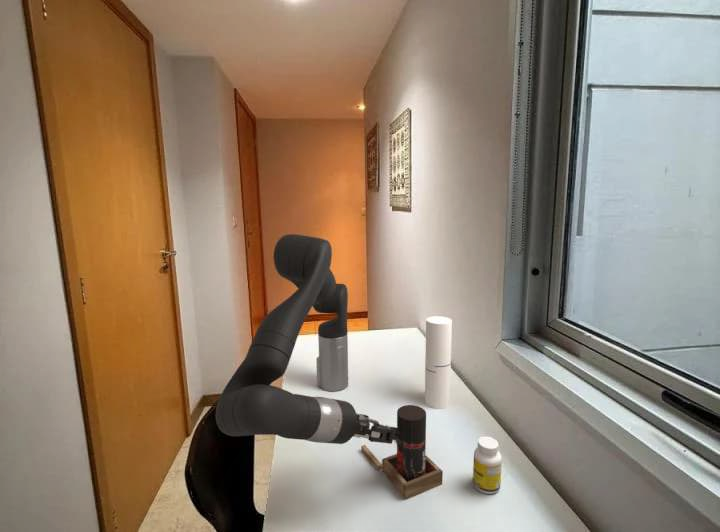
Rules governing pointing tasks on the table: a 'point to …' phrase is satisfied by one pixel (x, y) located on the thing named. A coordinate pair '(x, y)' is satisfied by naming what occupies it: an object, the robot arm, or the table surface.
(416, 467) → the deodorant
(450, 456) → the table surface
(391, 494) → the table surface
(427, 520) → the table surface
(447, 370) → the cylindrical container
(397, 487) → the socket track
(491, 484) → the supplement bottle
